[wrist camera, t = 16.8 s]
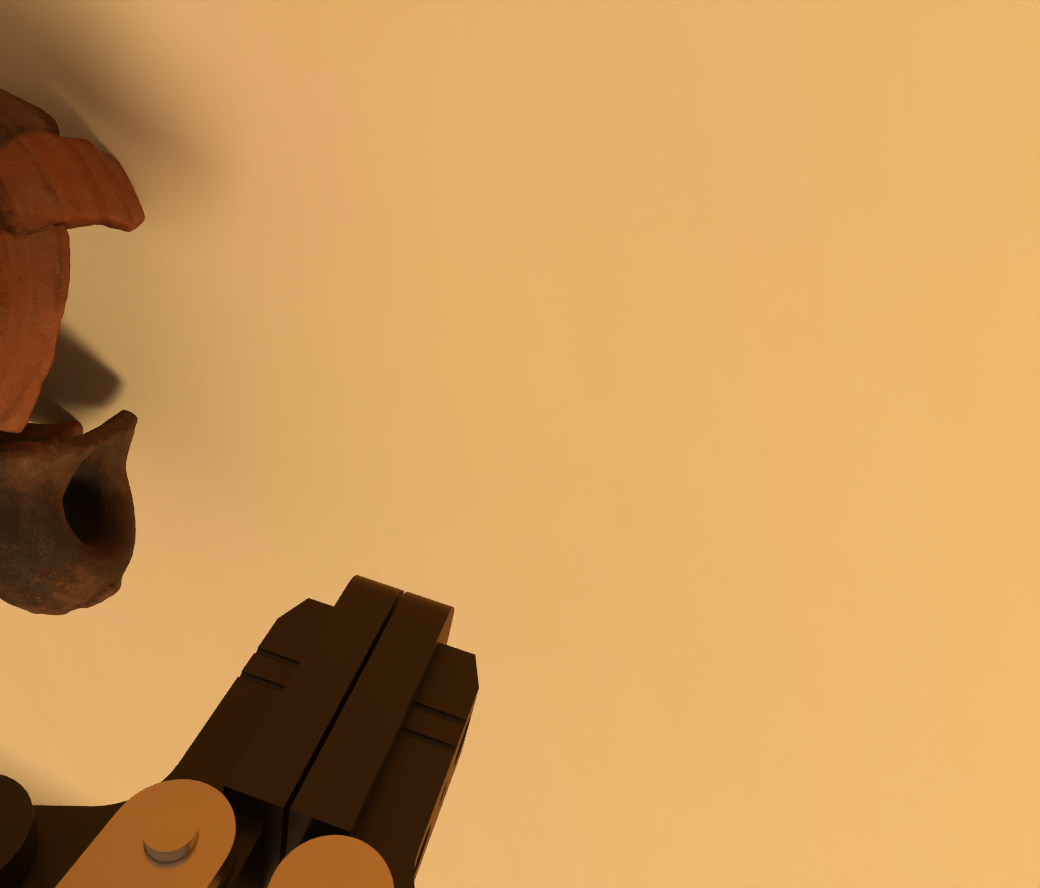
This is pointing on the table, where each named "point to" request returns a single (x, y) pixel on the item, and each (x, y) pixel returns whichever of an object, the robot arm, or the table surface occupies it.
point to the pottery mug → (27, 360)
